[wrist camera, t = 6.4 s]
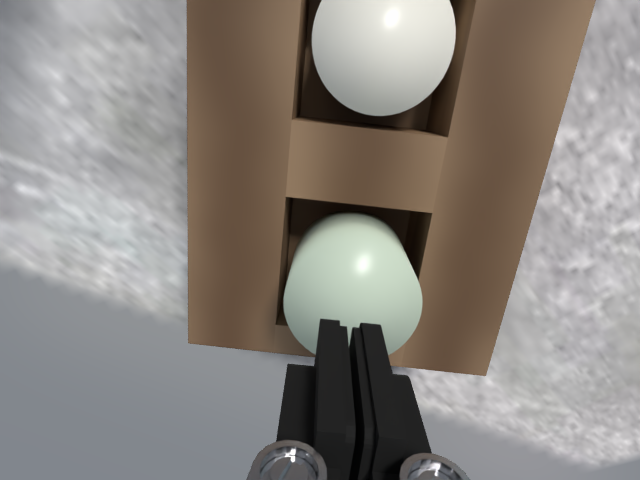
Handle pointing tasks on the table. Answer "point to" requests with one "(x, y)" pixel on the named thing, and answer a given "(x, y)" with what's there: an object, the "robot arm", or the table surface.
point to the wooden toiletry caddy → (369, 167)
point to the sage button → (352, 279)
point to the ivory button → (383, 51)
